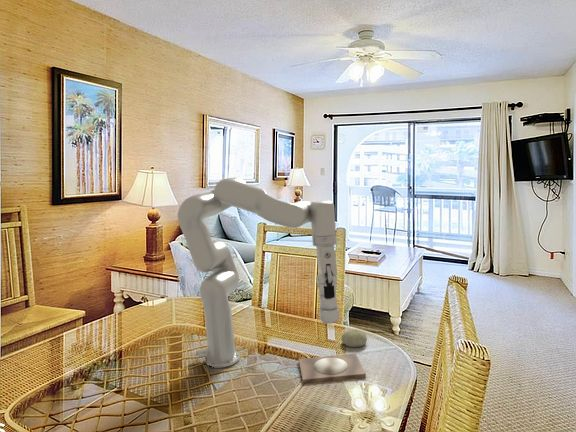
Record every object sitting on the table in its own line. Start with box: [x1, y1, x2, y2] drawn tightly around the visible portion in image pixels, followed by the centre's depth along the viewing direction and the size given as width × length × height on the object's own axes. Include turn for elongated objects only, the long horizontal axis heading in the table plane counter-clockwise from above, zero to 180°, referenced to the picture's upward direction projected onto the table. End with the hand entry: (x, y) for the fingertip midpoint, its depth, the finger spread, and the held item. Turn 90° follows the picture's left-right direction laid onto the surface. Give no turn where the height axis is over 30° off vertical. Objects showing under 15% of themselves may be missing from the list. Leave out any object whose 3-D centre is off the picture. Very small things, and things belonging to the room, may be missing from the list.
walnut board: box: [298, 353, 367, 384], centre depth 139 cm, size 20×14×1 cm
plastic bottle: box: [316, 271, 341, 325], centre depth 135 cm, size 6×7×20 cm
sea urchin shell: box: [341, 328, 368, 348], centre depth 157 cm, size 9×8×8 cm
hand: (327, 294), depth 135 cm, fingers closed on plastic bottle, 6 cm apart
